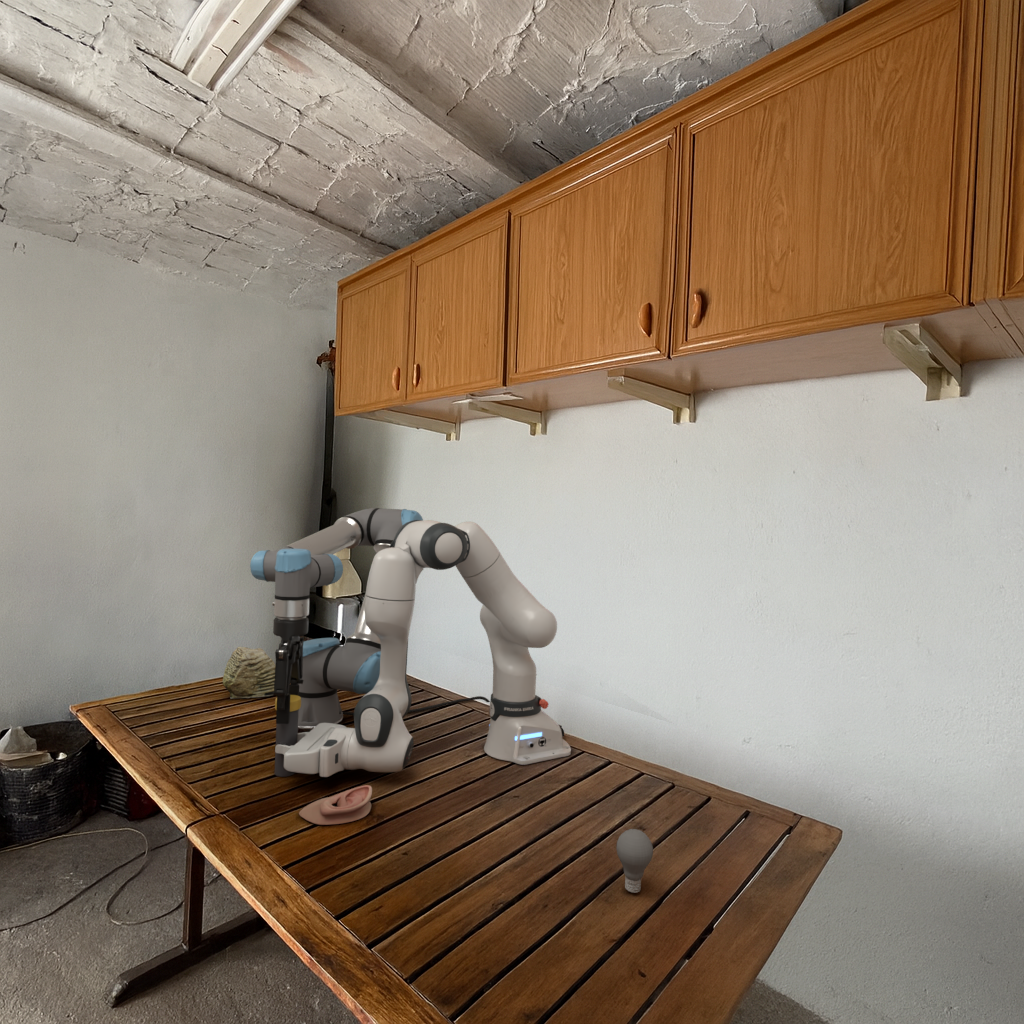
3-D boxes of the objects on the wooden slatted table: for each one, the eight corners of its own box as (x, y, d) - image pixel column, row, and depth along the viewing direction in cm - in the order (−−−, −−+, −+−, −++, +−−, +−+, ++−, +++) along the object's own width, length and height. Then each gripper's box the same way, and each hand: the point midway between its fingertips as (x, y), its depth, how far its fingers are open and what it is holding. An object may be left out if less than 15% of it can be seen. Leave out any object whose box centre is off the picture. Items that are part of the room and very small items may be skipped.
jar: (295, 767, 148) (298, 696, 147) (296, 775, 143) (299, 702, 143) (274, 769, 146) (277, 698, 146) (274, 777, 142) (277, 704, 141)
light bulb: (610, 879, 108) (613, 822, 108) (644, 879, 109) (647, 822, 109) (619, 902, 102) (622, 840, 102) (655, 901, 103) (658, 840, 103)
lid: (300, 703, 148) (300, 693, 148) (301, 711, 143) (301, 701, 143) (274, 705, 146) (275, 695, 146) (275, 713, 141) (275, 703, 141)
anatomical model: (291, 800, 123) (320, 775, 134) (290, 820, 123) (320, 794, 134) (354, 810, 120) (379, 784, 132) (353, 830, 121) (378, 803, 132)
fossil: (218, 695, 195) (220, 647, 195) (278, 685, 208) (279, 640, 207) (228, 703, 189) (230, 653, 188) (289, 692, 201) (290, 645, 201)
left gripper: (287, 609, 153) (283, 703, 154) (259, 624, 134) (255, 732, 135) (318, 610, 154) (315, 704, 154) (295, 626, 135) (291, 733, 135)
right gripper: (357, 718, 154) (302, 714, 155) (324, 751, 133) (261, 745, 135) (356, 744, 154) (301, 739, 155) (323, 781, 133) (260, 775, 135)
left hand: (287, 717), depth 144 cm, fingers open, 6 cm apart
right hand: (282, 742), depth 145 cm, fingers closed on jar, 5 cm apart
